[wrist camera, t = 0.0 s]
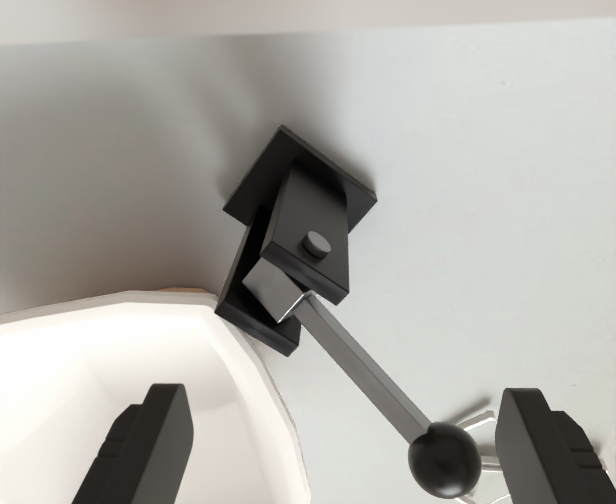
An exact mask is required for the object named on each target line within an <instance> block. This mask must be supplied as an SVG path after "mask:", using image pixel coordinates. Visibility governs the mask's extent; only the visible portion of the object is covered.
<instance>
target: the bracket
mask: <svg viewBox="0 0 616 504" xmlns="http://www.w3.org/2000/svg"><path fill="white" fill-rule="evenodd" d="M376 202H377V196H376V194H375V193H374V192H372V191H371V190H369V189H368V188H367V187H365V186H364V185H363V184H361V183H360V182H359V181H357V180H356V179H355V178H353V177H352V176H351V175H349V174H348V173H346V172H345V171H344V170H342V169H341V168H340V167H338V166H337V165H336V164H334V163H333V162H332V161H330V160H329V159H328V158H326V157H325V156H323V155H322V154H321V153H319V152H318V151H317V150H315V149H314V148H313V147H311V146H310V145H309V144H307V143H306V142H305V141H303V140H302V139H300V138H299V137H298V136H296V135H295V134H294V133H292V132H291V131H290V130H288V129H287V128H286V127H284V126H283V125H281V126H280V127H279V129H278V130H277V132H276V133H275V134H274V136H273V137H272V139H271V140H270V141H269V143H268V144H267V146H266V147H265V148H264V150H263V151H262V153H261V154H260V155H259V157H258V158H257V160H256V161H255V163H254V164H253V165H252V167H251V168H250V170H249V171H248V172H247V174H246V175H245V177H244V178H243V179H242V181H241V182H240V184H239V185H238V186H237V188H236V189H235V191H234V192H233V194H232V195H231V196H230V198H229V199H228V201H227V202H226V204H225V205H224V207H223V211H225V212H226V213H228V214H229V215H231V216H232V217H234V218H235V219H237V220H238V221H240V222H241V223H243V224H244V225H246V226H247V228H246V231H245V233H244V236H243V238H242V241H241V244H240V246H239V249H238V251H237V254H236V257H235V259H234V262H233V264H232V267H231V269H230V272H229V275H228V277H227V280H226V282H225V285H224V288H223V290H222V293H221V295H220V298H219V300H218V303H217V306H216V308H215V311H214V313H215V314H216V315H218V316H219V317H221V318H223V319H224V320H226V321H228V322H229V323H231V324H233V325H234V326H236V327H238V328H239V329H241V330H243V331H244V332H246V333H248V334H249V335H251V336H253V337H254V338H256V339H258V340H259V341H261V342H263V343H264V344H266V345H268V346H269V347H271V348H273V349H274V350H276V351H278V352H279V353H281V354H283V355H284V356H286V357H289V356H290V355H291V353H292V352H293V351H294V350H295V349H296V348H297V347H298V346H299V340H300V331H301V322H300V321H299V320H298V319H297V318H296V317H295V316H294V315H292V316H290V317H289V318H287V319H285V320H283V321H281V322H279V323H278V322H277V321H276V320H275V319H274V318H273V317H272V316H271V315H270V313H269V312H268V311H267V310H266V309H265V308H264V307H263V306H262V304H261V303H260V302H259V301H258V300H257V299H256V298H255V296H254V295H253V294H252V293H251V292H250V291H249V290H248V289H247V287H246V286H245V285H244V284H243V283H242V281H243V280H244V278H245V277H246V276H247V275H248V273H249V272H250V271H251V270H252V268H253V267H254V266H255V265H256V263H257V262H258V261H259V260H260V258H261V257H262V258H264V259H265V260H267V261H268V262H270V263H271V264H273V265H274V266H276V267H277V268H279V269H281V270H282V271H284V272H285V273H287V274H288V275H290V276H291V277H293V278H294V279H296V280H297V281H299V282H301V283H302V284H304V285H305V286H307V287H308V288H310V289H311V290H313V291H314V292H316V293H317V294H319V295H320V296H322V297H324V298H325V299H327V300H328V301H330V302H331V303H333V304H334V305H336V306H337V305H338V304H339V303H340V302H341V301H342V300H343V299H344V298H345V297H346V296H347V295H348V294H349V261H348V234H349V233H350V232H351V230H352V229H353V228H354V227H355V226H356V225H357V224H358V223H359V221H360V220H361V219H362V218H363V217H364V216H365V215H366V214H367V212H368V211H369V210H370V209H371V208H372V207H373V206H374V204H375V203H376Z"/></svg>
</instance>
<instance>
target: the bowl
mask: <svg viewBox="0 0 616 504" xmlns="http://www.w3.org/2000/svg"><path fill="white" fill-rule="evenodd" d="M218 300H219V298H218V297H217V296H216V295H215V294H211V293H208V292H207V291H206V290H205V289H202V288H181V287H170V288H165V289H159V290H154V291H133V290H130V291H124V292H119V293H113V294H107V295H102V296H96V297H90V298H85V299H79V300H73V301H68V302H62V303H56V304H51V305H45V306H40V307H34V308H29V309H24V310H20V311H15V312H10V313H5V314H0V504H71V503H72V501H73V499H74V497H75V495H76V494H77V492H78V490H79V488H80V486H81V484H82V482H83V480H84V478H85V476H86V474H87V472H88V470H89V468H90V467H91V465H92V463H93V461H94V459H95V457H97V455H98V451H99V449H100V447H101V445H102V443H103V442H105V438H106V436H107V434H108V432H109V430H110V428H111V426H112V424H113V422H114V420H115V419H116V418H117V417H118V416H119V415H120V414H121V413H122V412H123V411H124V410H125V409H126V408H127V407H128V406H129V405H130V404H142V403H143V401H144V399H145V397H146V395H147V392H148V390H149V388H150V387H151V385H152V384H154V383H181V384H184V386H185V389H186V393H187V398H188V402H189V407H190V412H191V416H192V421H193V427H194V438H193V446H192V450H191V453H190V456H189V459H188V463H187V466H186V469H185V472H184V475H183V478H182V481H181V484H180V488H179V491H178V494H177V497H176V500H175V503H174V504H311V492H310V484H309V480H308V476H307V472H306V467H305V463H304V459H303V455H302V451H301V447H300V442H299V438H298V434H297V430H296V426H295V423H294V421H293V419H292V417H291V415H290V413H289V411H288V409H287V407H286V405H285V403H284V401H283V399H282V397H281V395H280V393H279V391H278V389H277V387H276V385H275V383H274V381H273V379H272V377H271V375H270V373H269V371H268V369H267V367H266V365H265V363H264V361H263V359H262V357H261V355H260V353H259V352H258V351H257V349H256V348H255V346H254V345H253V344H252V342H251V341H250V340H249V338H248V337H247V336H246V334H245V333H244V331H243V330H241V329H239V328H238V327H236V326H234V325H233V324H231V323H229V322H228V321H226V320H224V319H223V318H221V317H219V316H218V315H216V314H215V313H214V311H215V308H216V306H217V303H218Z"/></svg>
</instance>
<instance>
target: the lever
mask: <svg viewBox="0 0 616 504" xmlns="http://www.w3.org/2000/svg"><path fill="white" fill-rule="evenodd" d="M242 283H243V284H244V285H245V286H246V287H247V289H248V290H249V291H250V292H251V293H252V294H253V295H254V296H255V298H256V299H257V300H258V301H259V302H260V303H261V304H262V306H263V307H264V308H265V309H266V310H267V311H268V312H269V313H270V315H271V316H272V317H273V318H274V319H275V320H276V321H277V322H278V323H279V322H281V321H283V320H285V319H287V318H289V317H290V316H292V315H294V316H295V317H296V318H297V319H298V320H299V321H300V322H301V324H302V325H303V326H304V327H305V328H306V329H307V330H308V331H309V332H310V334H311V335H312V336H313V337H314V338H315V339H316V340H317V341H318V343H319V344H320V345H321V346H322V347H323V348H324V349H325V350H326V351H327V353H328V354H329V355H330V356H331V357H332V358H333V359H334V360H335V361H336V363H337V364H338V365H339V366H340V367H341V368H342V369H343V370H344V372H345V373H346V374H347V375H348V376H349V377H350V378H351V379H352V380H353V382H354V383H355V384H356V385H357V386H358V387H359V388H360V389H361V390H362V392H363V393H364V394H365V395H366V396H367V397H368V398H369V399H370V401H371V402H372V403H373V404H374V405H375V406H376V407H377V408H378V409H379V411H380V412H381V413H382V414H383V415H384V416H385V417H386V418H387V420H388V421H389V422H390V423H391V424H392V425H393V426H394V427H395V428H396V430H397V431H398V432H399V433H400V434H401V435H402V436H403V437H404V438H405V440H406V441H407V442H408V443H409V444H410V446H409V450H408V462H409V467H410V470H411V473H412V475H413V477H414V479H415V480H416V482H417V483H418V484H419V485H420V486H421V487H422V488H423V489H424V490H425V491H426V492H428V493H429V494H431V495H433V496H436V497H439V498H443V499H454V498H459V497H461V496H464V495H465V494H467V493H468V492H470V491H471V490H472V489H473V488H474V486H475V485H476V484H477V482H478V480H479V477H480V474H481V469H482V460H481V454H480V451H479V448H478V446H477V444H476V442H475V441H474V439H473V438H472V437H471V436H470V434H468V433H467V432H466V431H465V430H464V429H462V428H461V427H459V426H457V425H455V424H452V423H448V422H434V423H431V422H430V421H429V419H428V418H427V417H426V416H425V415H424V414H423V413H422V412H421V411H420V410H419V409H418V408H417V406H416V405H415V404H414V403H413V402H412V401H411V400H410V399H409V398H408V397H407V396H406V395H405V393H404V392H403V391H402V390H401V389H400V388H399V387H398V386H397V385H396V384H395V383H394V381H393V380H392V379H391V378H390V377H389V376H388V375H387V374H386V373H385V372H384V371H383V370H382V368H381V367H380V366H379V365H378V364H377V363H376V362H375V361H374V360H373V359H372V358H371V356H370V355H369V354H368V353H367V352H366V351H365V350H364V349H363V348H362V347H361V346H360V345H359V343H358V342H357V341H356V340H355V339H354V338H353V337H352V336H351V335H350V334H349V333H348V331H347V330H346V329H345V328H344V327H343V326H342V325H341V324H340V323H339V322H338V321H337V320H336V318H335V317H334V316H333V315H332V314H331V313H330V312H329V311H328V310H327V309H326V308H325V307H324V305H323V304H322V303H321V302H320V301H319V300H318V299H317V298H316V297H315V295H316V294H317V293H316V292H314V291H313V290H311V289H310V288H308V287H307V286H305V285H304V284H302V283H301V282H299V281H297V280H296V279H294V278H293V277H291V276H290V275H288V274H287V273H285V272H284V271H282V270H281V269H279V268H277V267H276V266H274V265H273V264H271V263H270V262H268V261H267V260H265V259H264V258H262V257H261V258H260V260H259V261H258V262H257V263H256V265H255V266H254V267H253V268H252V270H251V271H250V272H249V273H248V275H247V276H246V277H245V278H244V280H243V281H242Z"/></svg>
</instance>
